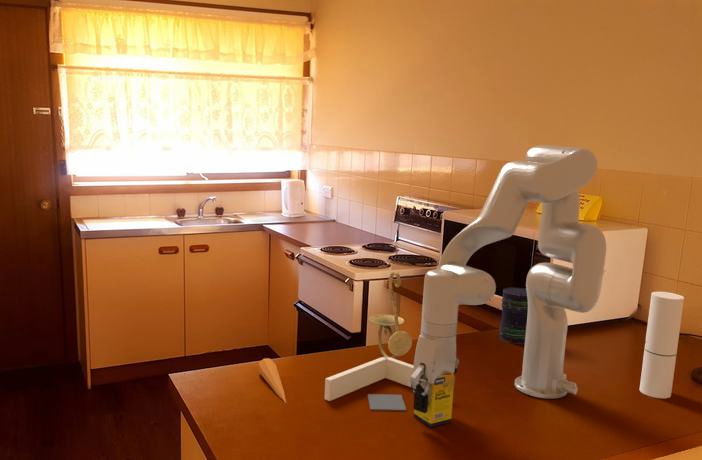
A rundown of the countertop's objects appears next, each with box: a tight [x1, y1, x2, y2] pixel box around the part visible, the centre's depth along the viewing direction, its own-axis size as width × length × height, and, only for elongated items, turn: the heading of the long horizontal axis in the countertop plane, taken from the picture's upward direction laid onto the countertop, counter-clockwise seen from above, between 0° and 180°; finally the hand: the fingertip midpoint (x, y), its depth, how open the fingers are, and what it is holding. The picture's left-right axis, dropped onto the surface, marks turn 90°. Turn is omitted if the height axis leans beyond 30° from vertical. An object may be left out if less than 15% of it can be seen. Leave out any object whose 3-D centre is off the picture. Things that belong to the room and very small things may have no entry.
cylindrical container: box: [639, 291, 685, 399], centre depth 158 cm, size 7×7×25 cm
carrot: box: [258, 358, 287, 405], centre depth 153 cm, size 20×4×4 cm, turn 21°
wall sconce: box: [369, 270, 413, 359], centre depth 172 cm, size 14×10×25 cm
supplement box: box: [413, 372, 455, 428], centre depth 139 cm, size 6×6×11 cm
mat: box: [367, 393, 407, 412], centre depth 147 cm, size 8×8×1 cm
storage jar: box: [498, 287, 528, 345], centre depth 196 cm, size 10×10×15 cm
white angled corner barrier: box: [324, 355, 414, 402], centre depth 149 cm, size 18×22×5 cm
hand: (432, 404), depth 139 cm, fingers open, 9 cm apart
